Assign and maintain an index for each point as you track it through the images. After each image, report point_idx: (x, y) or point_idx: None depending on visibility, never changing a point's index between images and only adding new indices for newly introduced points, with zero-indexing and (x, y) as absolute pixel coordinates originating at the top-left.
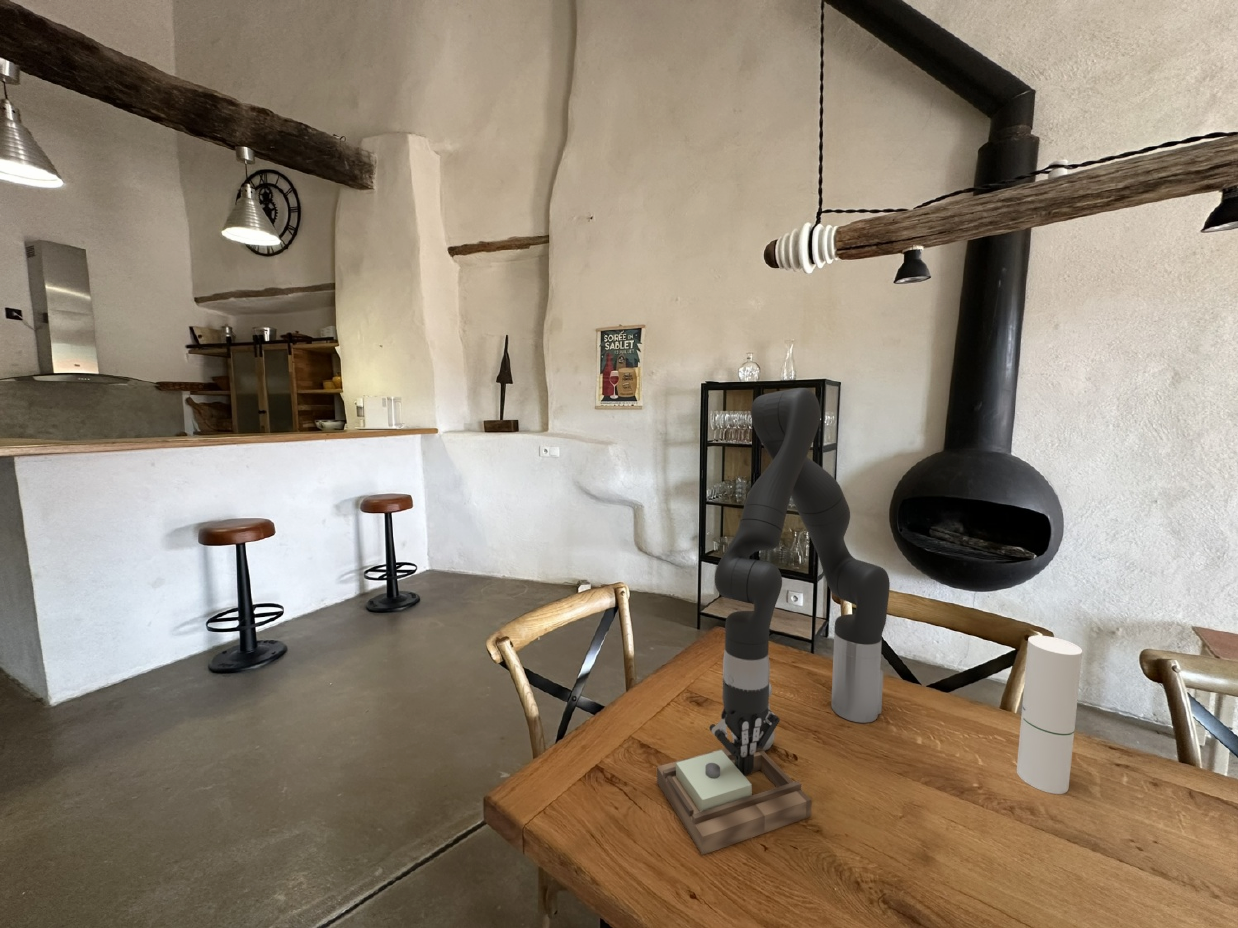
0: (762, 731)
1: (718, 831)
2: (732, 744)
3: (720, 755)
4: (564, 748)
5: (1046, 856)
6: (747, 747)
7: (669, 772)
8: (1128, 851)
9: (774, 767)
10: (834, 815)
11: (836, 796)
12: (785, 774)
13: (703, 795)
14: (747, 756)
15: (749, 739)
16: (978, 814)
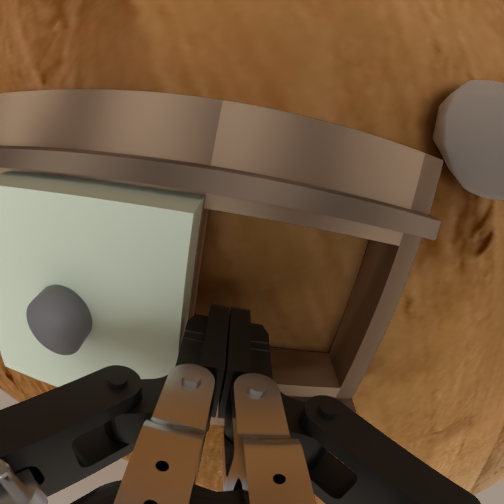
0: (493, 187)
1: (50, 384)
2: (92, 472)
3: (158, 245)
4: None
5: (454, 478)
6: (228, 430)
7: None
8: (489, 474)
9: (373, 321)
10: (364, 410)
11: (419, 380)
12: (369, 356)
13: (10, 358)
14: (211, 415)
15: (226, 487)
16: (486, 441)
